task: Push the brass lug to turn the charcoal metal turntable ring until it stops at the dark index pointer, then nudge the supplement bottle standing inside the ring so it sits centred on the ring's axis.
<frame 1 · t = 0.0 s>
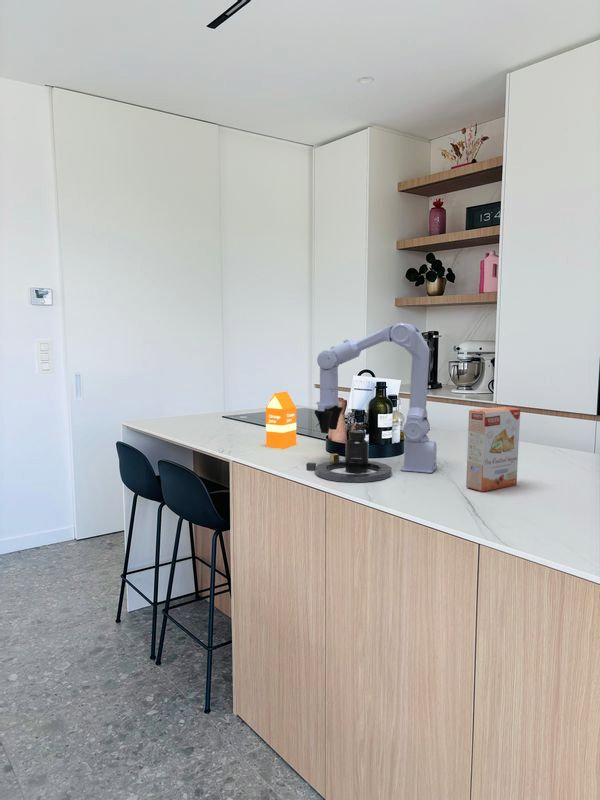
hand: (328, 431, 185), 10 cm above the countertop, tool pointing down, fingers open, 7 cm apart
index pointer: (311, 469, 176), on the countertop
cracker box: (492, 487, 155), on the countertop
supplement bottle: (356, 471, 174), resting in turntable ring
turntable ring: (353, 466, 171), point 2 cm above the countertop, hinge at -35.0°
orange juice: (281, 446, 215), on the countertop
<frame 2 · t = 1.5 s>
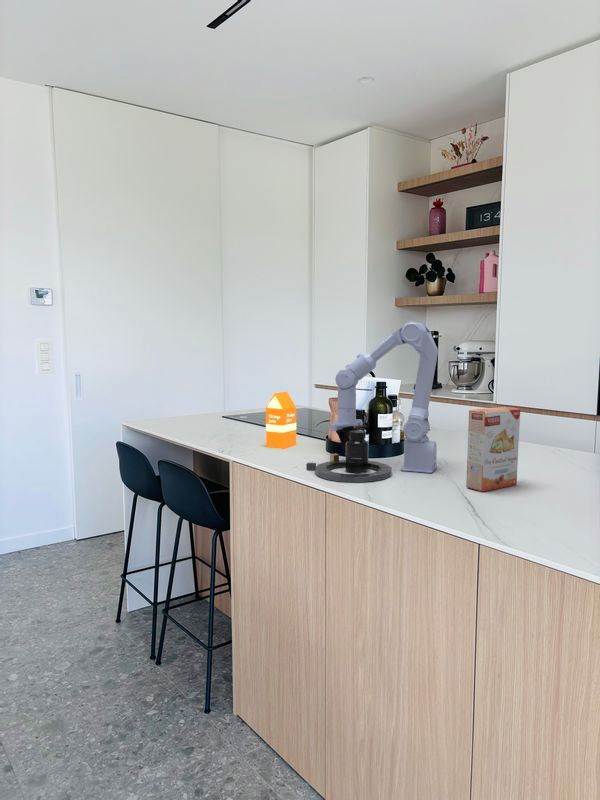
hand: (346, 450, 184), 4 cm above the countertop, tool pointing down, fingers closed
nothing on the countertop moved.
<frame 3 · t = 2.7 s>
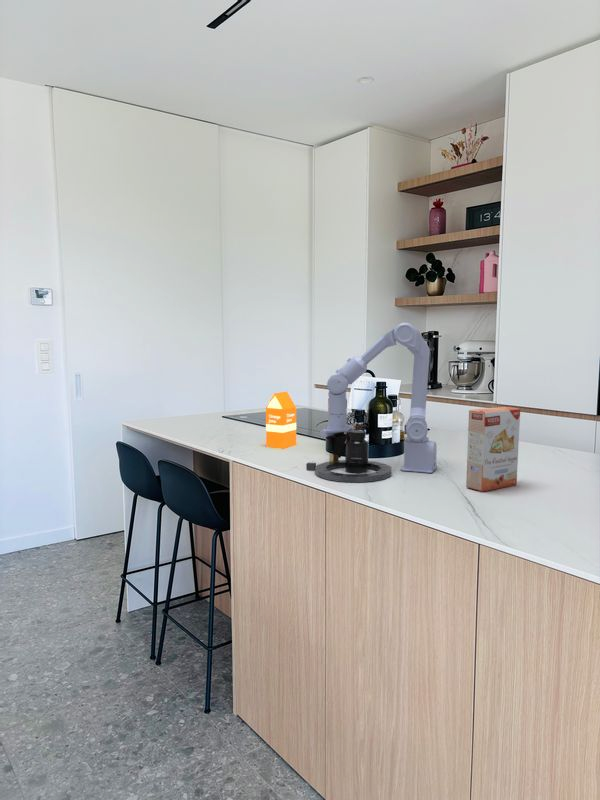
hand: (337, 457, 180), 3 cm above the countertop, tool pointing down, fingers closed, pressing on turntable ring
turntable ring: (353, 466, 171), point 2 cm above the countertop, hinge at -33.9°, touching gripper
everything else where it was.
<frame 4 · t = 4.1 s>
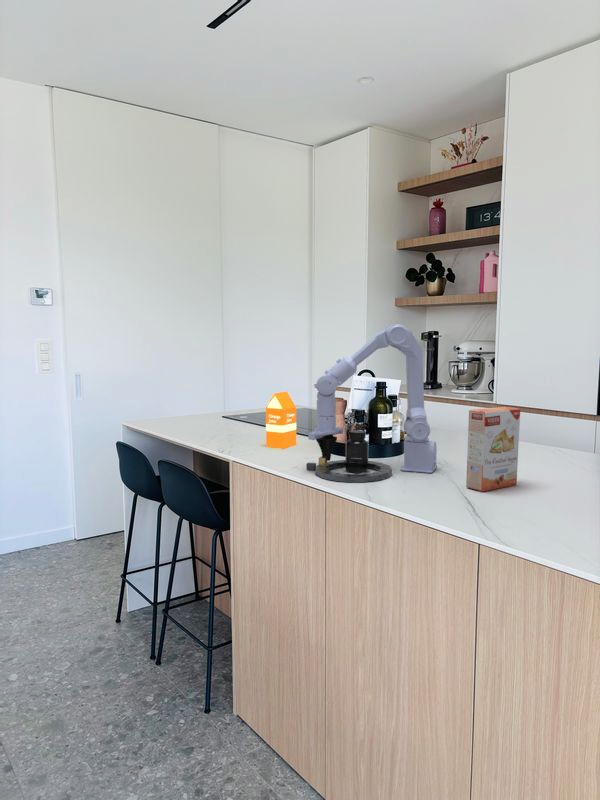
hand: (326, 460, 176), 3 cm above the countertop, tool pointing down, fingers closed, pressing on turntable ring
turntable ring: (353, 466, 171), point 2 cm above the countertop, hinge at 0.2°, touching gripper
everything else where it was.
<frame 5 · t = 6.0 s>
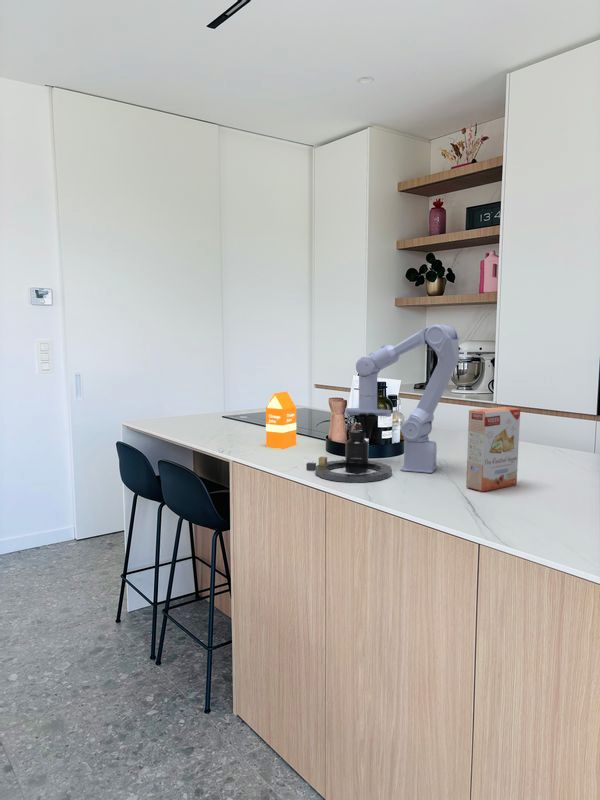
hand: (367, 438, 184), 8 cm above the countertop, tool pointing down, fingers closed
turntable ring: (353, 466, 171), point 2 cm above the countertop, hinge at 0.3°
everything else where it was.
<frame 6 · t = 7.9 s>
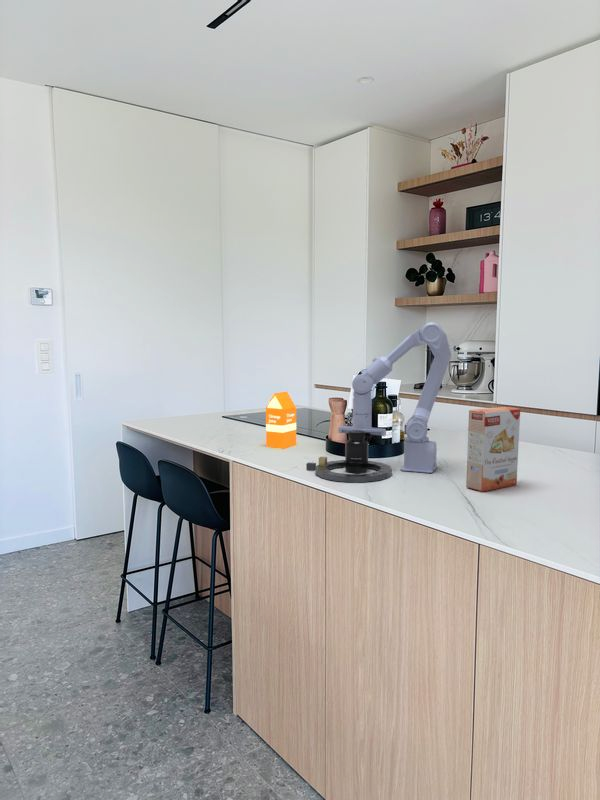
hand: (361, 457, 179), 3 cm above the countertop, tool pointing down, fingers closed, pressing on supplement bottle
supplement bottle: (356, 471, 174), resting in turntable ring, touching gripper
everything else where it was.
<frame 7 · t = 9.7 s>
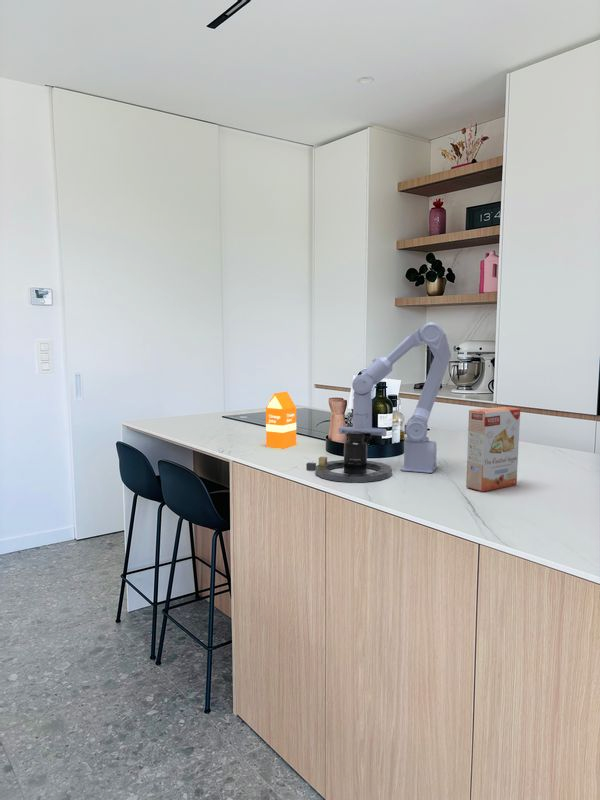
hand: (362, 457, 179), 3 cm above the countertop, tool pointing down, fingers closed
supplement bottle: (355, 472, 173), resting in turntable ring
everything else where it was.
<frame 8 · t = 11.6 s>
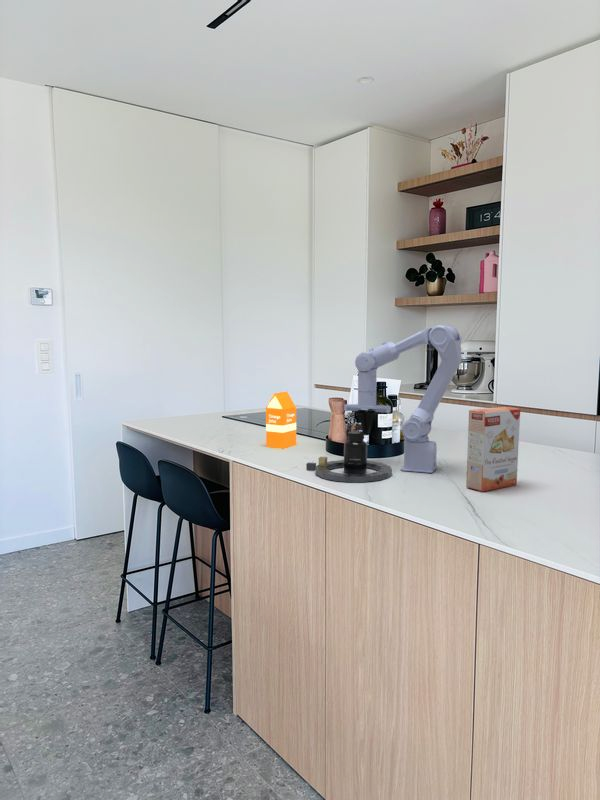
hand: (366, 434, 183), 9 cm above the countertop, tool pointing down, fingers closed
nothing on the countertop moved.
at the end: turntable ring at +0° (first picture: -35°); supplement bottle 1.8 cm from the turntable ring (horizontally); supplement bottle tilted 0° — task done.
